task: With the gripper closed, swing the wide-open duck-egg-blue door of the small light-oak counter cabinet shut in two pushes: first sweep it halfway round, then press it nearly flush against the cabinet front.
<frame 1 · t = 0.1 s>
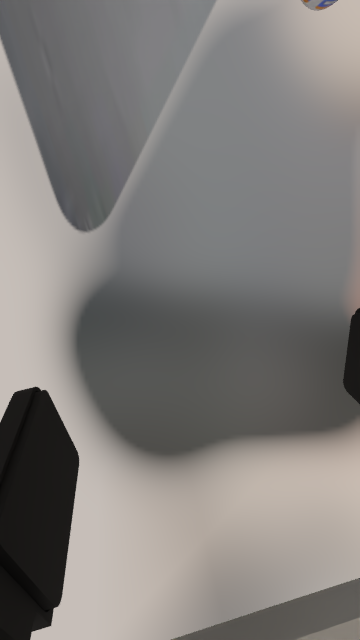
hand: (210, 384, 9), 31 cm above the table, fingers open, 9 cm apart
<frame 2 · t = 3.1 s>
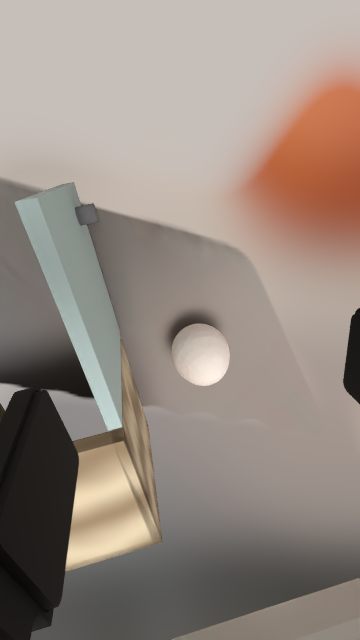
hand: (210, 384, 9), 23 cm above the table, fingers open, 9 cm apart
egg: (192, 335, 35), on the table
door: (98, 291, 23), point 7 cm above the table, hinge at 90.0°
cabinet: (70, 402, 36), on the table
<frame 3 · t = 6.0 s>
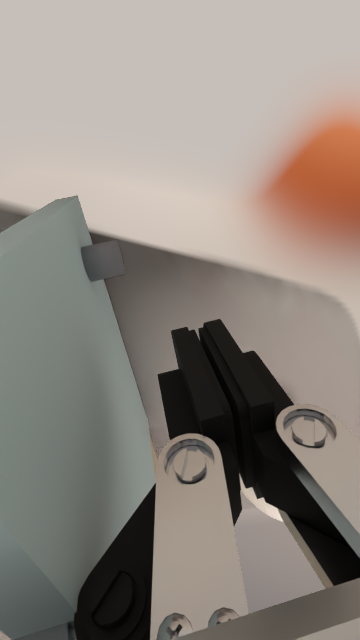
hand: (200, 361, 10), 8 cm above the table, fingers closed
egg: (251, 416, 24), on the table
door: (127, 415, 12), point 7 cm above the table, hinge at 89.4°, touching gripper
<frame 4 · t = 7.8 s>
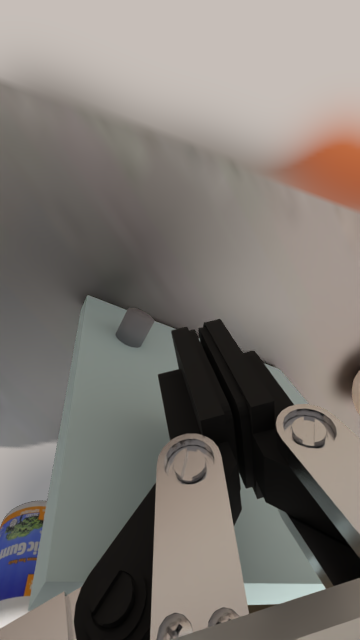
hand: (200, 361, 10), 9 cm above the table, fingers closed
pill bottle: (38, 516, 26), on the table
door: (237, 406, 14), point 7 cm above the table, hinge at 38.1°
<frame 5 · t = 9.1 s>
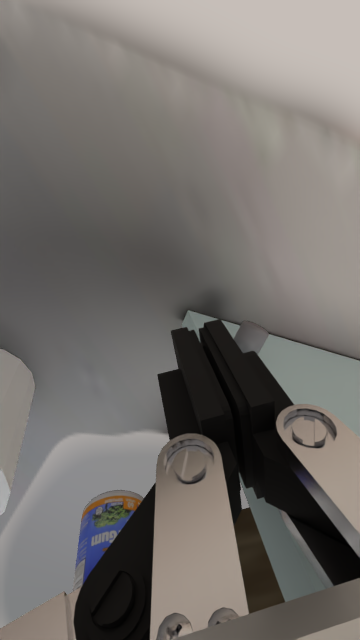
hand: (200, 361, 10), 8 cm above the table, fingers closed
pill bottle: (115, 506, 26), on the table
cabinet: (272, 459, 26), on the table
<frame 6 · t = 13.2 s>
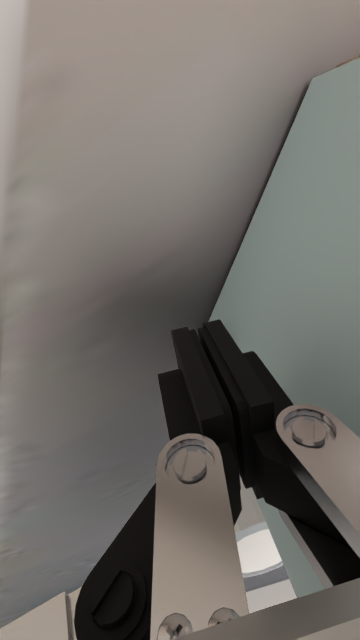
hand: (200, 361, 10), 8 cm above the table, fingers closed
white cup: (227, 458, 26), on the table
door: (309, 279, 11), point 7 cm above the table, hinge at 28.0°, touching gripper
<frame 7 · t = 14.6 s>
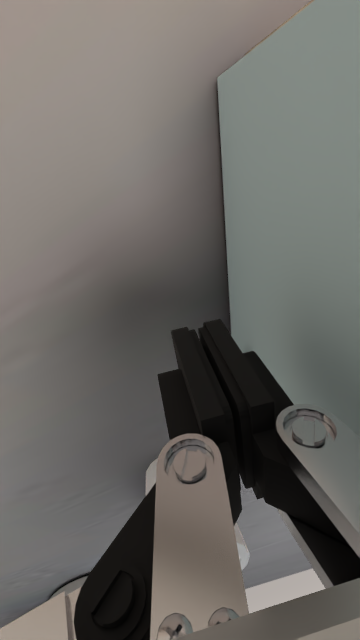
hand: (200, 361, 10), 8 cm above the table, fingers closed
white cup: (178, 469, 25), on the table
door: (282, 310, 10), point 7 cm above the table, hinge at 1.5°, touching gripper
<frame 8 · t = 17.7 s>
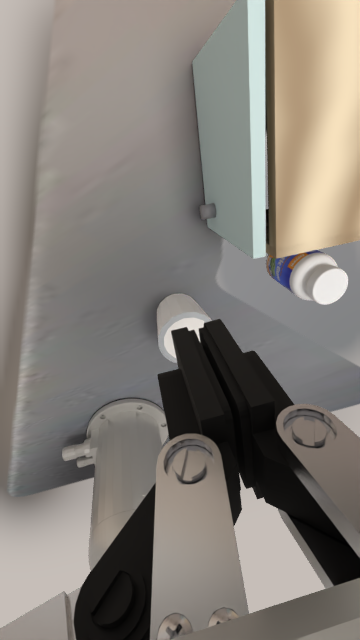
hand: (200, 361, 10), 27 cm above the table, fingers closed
pill bottle: (283, 259, 39), on the table
white cup: (177, 312, 40), on the table
door: (217, 151, 25), point 7 cm above the table, hinge at 1.4°
cabinet: (276, 137, 32), on the table
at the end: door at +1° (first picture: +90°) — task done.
